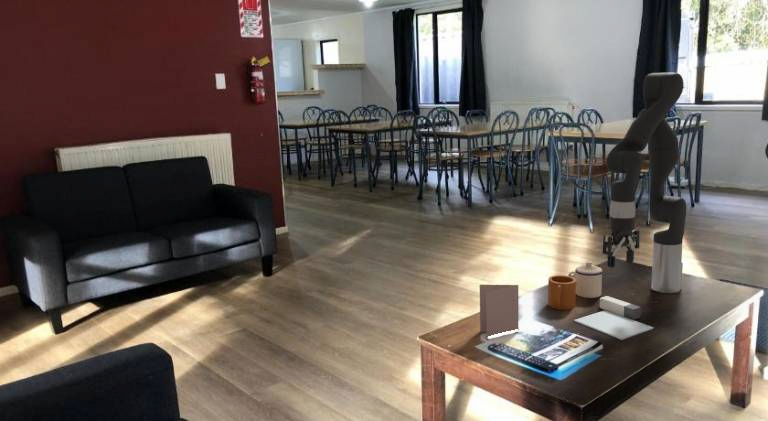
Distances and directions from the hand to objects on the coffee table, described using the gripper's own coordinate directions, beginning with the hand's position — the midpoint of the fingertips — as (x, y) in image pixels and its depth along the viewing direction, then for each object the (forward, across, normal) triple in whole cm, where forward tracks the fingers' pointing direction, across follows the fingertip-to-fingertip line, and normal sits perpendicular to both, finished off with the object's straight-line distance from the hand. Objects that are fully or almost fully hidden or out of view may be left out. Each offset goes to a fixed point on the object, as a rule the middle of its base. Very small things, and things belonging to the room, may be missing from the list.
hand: (620, 264), depth 201 cm
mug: (+16, +11, -15) cm, 25 cm away
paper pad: (+16, +10, +6) cm, 20 cm away
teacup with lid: (+16, -5, -19) cm, 25 cm away
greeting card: (+16, +43, -8) cm, 47 cm away
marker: (+16, 0, 0) cm, 16 cm away
